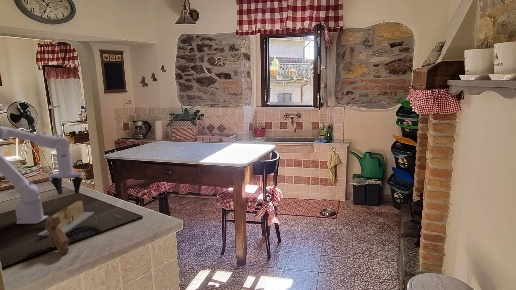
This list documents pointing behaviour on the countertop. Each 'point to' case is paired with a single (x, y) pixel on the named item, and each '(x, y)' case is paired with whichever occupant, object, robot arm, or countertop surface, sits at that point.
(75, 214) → the tan block
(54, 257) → the countertop surface
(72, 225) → the board
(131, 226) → the countertop surface
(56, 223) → the figurine
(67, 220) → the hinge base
